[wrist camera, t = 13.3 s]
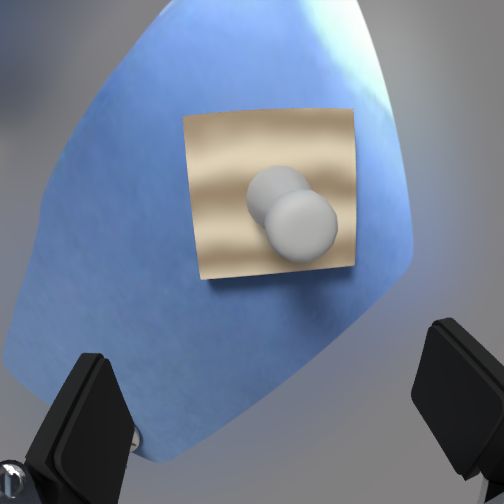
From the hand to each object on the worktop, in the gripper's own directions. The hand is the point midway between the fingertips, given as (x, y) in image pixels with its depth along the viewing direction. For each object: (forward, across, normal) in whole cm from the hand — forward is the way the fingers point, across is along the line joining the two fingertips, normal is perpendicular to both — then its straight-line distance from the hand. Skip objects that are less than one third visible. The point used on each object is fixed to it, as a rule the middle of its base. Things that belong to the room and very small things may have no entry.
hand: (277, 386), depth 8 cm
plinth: (+26, -3, -2) cm, 26 cm away
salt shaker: (+23, -3, -2) cm, 24 cm away
